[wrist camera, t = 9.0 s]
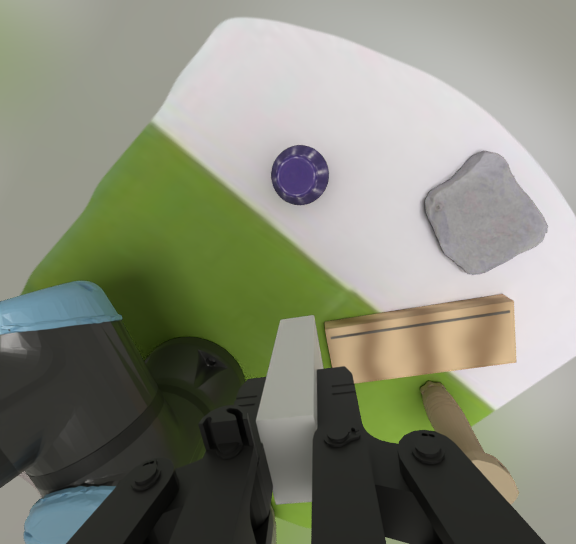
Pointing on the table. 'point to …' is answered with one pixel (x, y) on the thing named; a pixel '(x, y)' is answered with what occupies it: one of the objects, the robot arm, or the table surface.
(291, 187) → the toy lamp
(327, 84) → the table surface
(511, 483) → the handle
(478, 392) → the table surface
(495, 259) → the stone block
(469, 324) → the oak board
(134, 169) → the table surface
